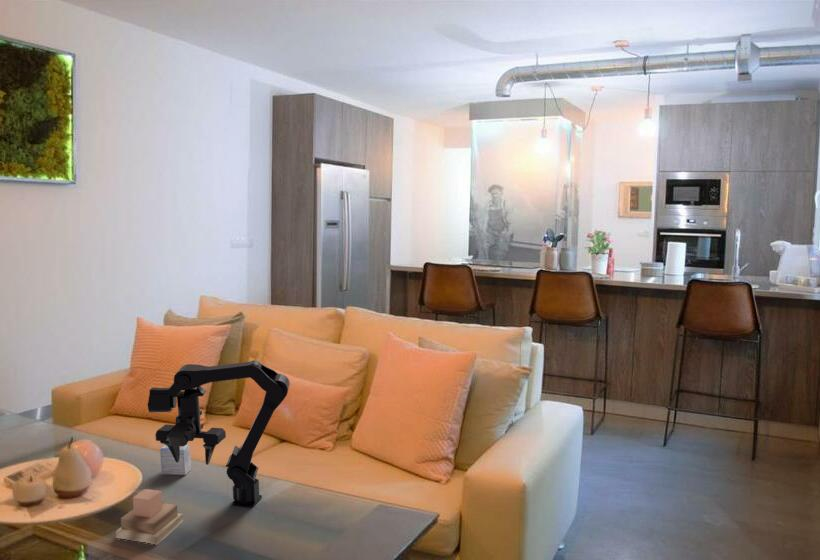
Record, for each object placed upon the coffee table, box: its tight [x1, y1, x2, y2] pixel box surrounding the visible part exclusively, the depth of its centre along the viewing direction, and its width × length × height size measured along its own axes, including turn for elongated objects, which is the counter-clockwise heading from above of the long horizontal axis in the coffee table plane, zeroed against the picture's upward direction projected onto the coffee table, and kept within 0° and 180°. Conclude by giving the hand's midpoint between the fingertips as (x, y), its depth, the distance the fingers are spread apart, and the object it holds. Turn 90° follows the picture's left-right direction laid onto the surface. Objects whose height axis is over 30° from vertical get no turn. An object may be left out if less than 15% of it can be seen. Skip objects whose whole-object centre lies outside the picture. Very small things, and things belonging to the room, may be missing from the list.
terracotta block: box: [132, 488, 163, 518], centre depth 182 cm, size 5×5×5 cm
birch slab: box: [115, 513, 184, 546], centre depth 183 cm, size 12×12×3 cm
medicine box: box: [159, 443, 192, 476], centre depth 216 cm, size 8×4×9 cm, turn 84°
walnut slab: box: [120, 502, 178, 535], centre depth 183 cm, size 10×10×3 cm
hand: (192, 463), depth 195 cm, fingers open, 9 cm apart
